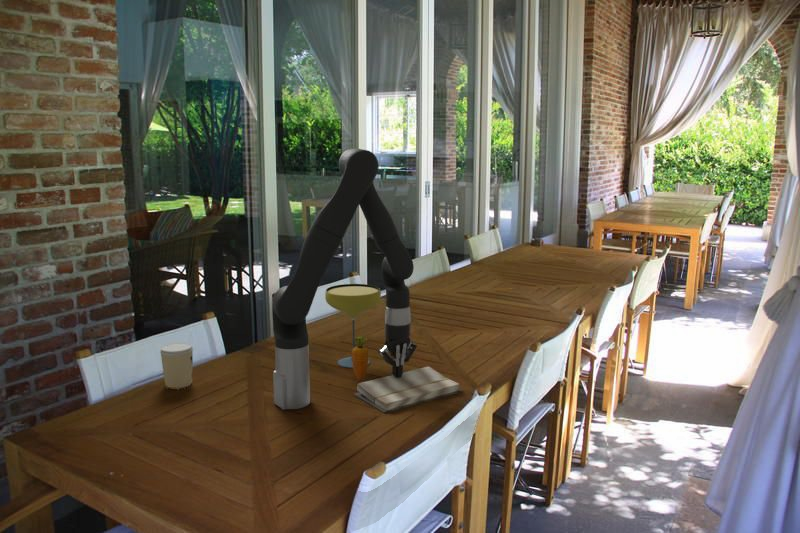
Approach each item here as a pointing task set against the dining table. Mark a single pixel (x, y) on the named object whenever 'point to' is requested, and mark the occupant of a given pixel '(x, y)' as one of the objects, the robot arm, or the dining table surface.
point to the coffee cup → (177, 364)
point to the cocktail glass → (352, 305)
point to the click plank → (398, 382)
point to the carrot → (360, 359)
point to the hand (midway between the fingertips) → (397, 376)
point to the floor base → (412, 395)
